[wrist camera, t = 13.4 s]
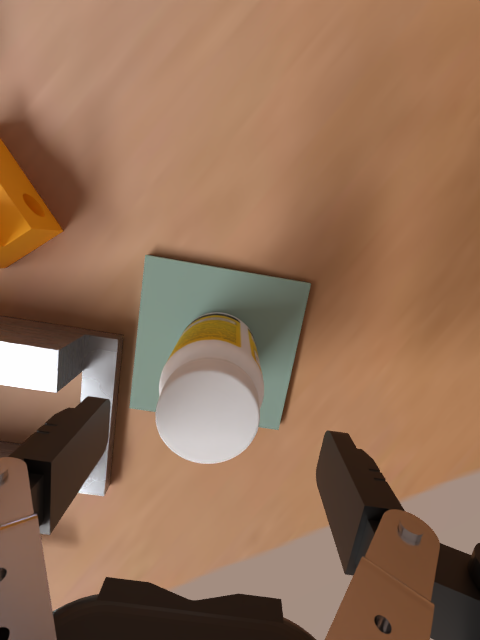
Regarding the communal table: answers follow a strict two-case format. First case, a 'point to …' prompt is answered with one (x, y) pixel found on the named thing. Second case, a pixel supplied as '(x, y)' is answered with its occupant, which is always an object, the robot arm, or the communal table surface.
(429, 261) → the communal table surface
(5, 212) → the pipe clamp
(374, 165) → the communal table surface
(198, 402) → the supplement bottle
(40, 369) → the vise
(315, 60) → the communal table surface
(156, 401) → the mat
